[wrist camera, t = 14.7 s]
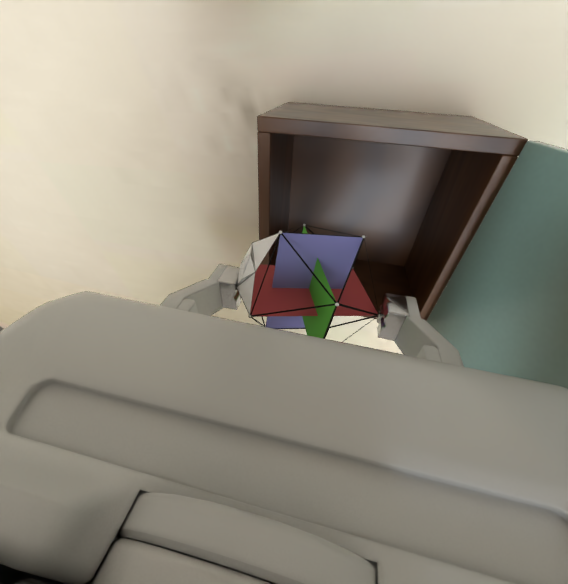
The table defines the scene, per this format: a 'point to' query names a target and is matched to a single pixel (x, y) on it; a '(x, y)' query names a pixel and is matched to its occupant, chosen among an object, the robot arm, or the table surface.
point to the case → (383, 187)
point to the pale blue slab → (515, 276)
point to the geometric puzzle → (304, 281)
